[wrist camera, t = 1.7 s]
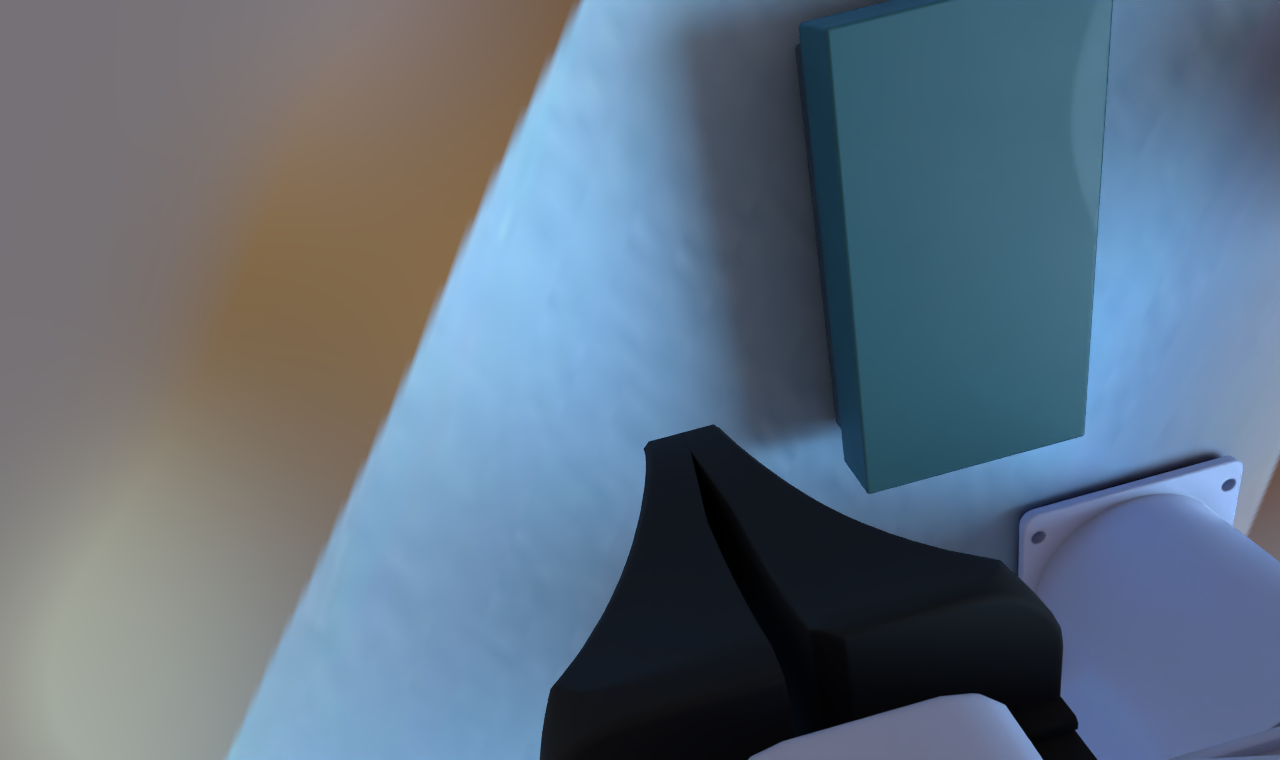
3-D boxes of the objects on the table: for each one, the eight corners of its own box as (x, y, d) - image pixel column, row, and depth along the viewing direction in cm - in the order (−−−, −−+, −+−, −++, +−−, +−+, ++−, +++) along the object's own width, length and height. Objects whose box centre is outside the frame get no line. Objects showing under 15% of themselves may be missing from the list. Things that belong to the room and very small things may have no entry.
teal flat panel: (1025, 388, 26) (1085, 436, 23) (829, 440, 26) (867, 495, 23) (1035, -43, 20) (1117, -45, 17) (781, 19, 20) (825, 28, 17)
